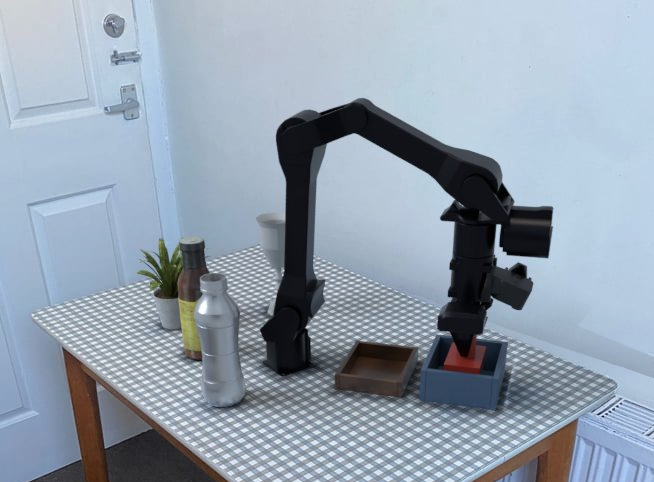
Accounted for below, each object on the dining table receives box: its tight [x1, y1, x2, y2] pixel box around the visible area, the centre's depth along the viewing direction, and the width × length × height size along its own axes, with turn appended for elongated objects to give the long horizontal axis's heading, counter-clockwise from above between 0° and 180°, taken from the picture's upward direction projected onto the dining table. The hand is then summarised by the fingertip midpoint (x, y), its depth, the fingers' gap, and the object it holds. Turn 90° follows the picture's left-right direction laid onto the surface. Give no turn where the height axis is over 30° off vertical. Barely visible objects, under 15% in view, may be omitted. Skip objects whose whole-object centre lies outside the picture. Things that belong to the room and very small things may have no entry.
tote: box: [419, 334, 509, 411], centre depth 120 cm, size 11×13×6 cm
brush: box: [444, 335, 486, 375], centre depth 118 cm, size 8×5×7 cm
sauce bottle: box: [177, 236, 210, 361], centre depth 130 cm, size 6×6×20 cm
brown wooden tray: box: [334, 340, 419, 399], centre depth 124 cm, size 10×12×3 cm
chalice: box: [255, 211, 285, 317], centre depth 145 cm, size 7×7×18 cm
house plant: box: [136, 237, 211, 330], centre depth 141 cm, size 14×14×16 cm
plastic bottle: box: [194, 272, 247, 408], centre depth 115 cm, size 6×7×20 cm
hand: (465, 352), depth 118 cm, fingers closed on brush, 3 cm apart
